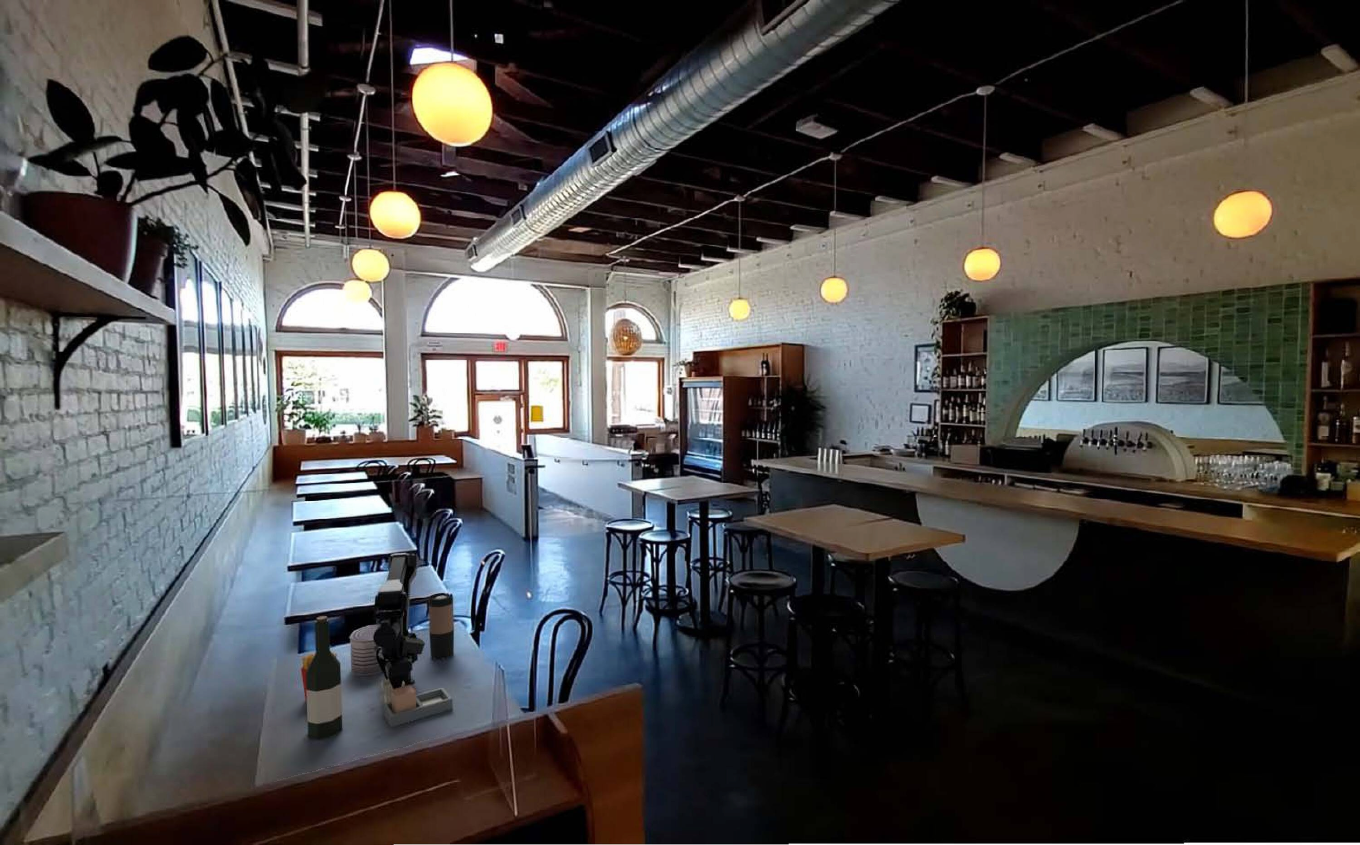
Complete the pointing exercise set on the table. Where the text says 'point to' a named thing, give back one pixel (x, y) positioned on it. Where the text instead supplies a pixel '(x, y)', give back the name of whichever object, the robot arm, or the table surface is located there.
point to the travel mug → (441, 625)
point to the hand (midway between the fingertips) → (393, 687)
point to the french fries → (304, 668)
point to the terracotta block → (403, 699)
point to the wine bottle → (323, 687)
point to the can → (363, 651)
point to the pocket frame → (420, 707)
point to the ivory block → (387, 691)
